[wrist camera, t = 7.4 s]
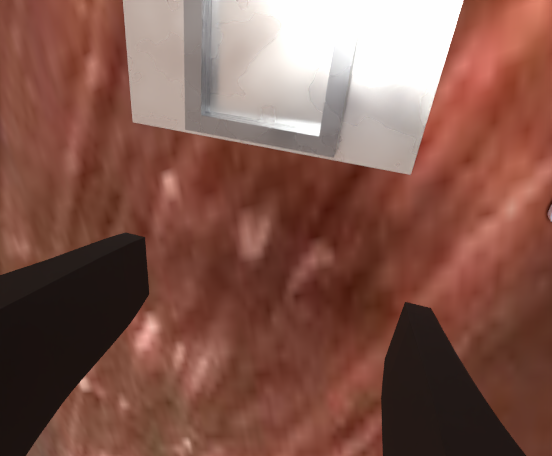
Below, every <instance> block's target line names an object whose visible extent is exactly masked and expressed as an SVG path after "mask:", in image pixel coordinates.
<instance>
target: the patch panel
mask: <svg viewBox="0 0 552 456" xmlns="http://www.w3.org/2000/svg"><path fill="white" fill-rule="evenodd" d="M462 3H463V0H123V8H124V20H125V32H126V45H127V57H128V70H129V82H130V95H131V107H132V119H133V122H135V123H140V124H145V125H150V126H156V127H161V128H166V129H172V130H177V131H182V132H187V133H193V134H198V135H203V136H208V137H214V138H219V139H224V140H230V141H235V142H240V143H245V144H251V145H256V146H261V147H267V148H272V149H277V150H282V151H288V152H293V153H298V154H303V155H309V156H314V157H319V158H325V159H330V160H335V161H340V162H346V163H351V164H356V165H362V166H367V167H372V168H377V169H383V170H388V171H393V172H399V173H404V174H409V175H411V173H412V169H413V166H414V163H415V159H416V156H417V153H418V149H419V146H420V143H421V139H422V136H423V133H424V129H425V126H426V123H427V119H428V116H429V113H430V109H431V106H432V103H433V99H434V96H435V93H436V89H437V86H438V83H439V79H440V76H441V73H442V69H443V66H444V63H445V59H446V56H447V53H448V49H449V46H450V43H451V39H452V36H453V33H454V29H455V26H456V23H457V19H458V16H459V13H460V9H461V6H462Z"/></svg>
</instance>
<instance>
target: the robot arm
mask: <svg viewBox="0 0 552 456" xmlns="http://www.w3.org/2000/svg"><path fill="white" fill-rule="evenodd" d="M548 217H549V219H550V221H551V222H552V205H551V207H550V209H549V211H548ZM148 295H149V285H148V272H147V259H146V245H145V237H141V236H137V235H133V234H129V233H123V234H119V235H116V236H112V237H109V238H106V239H104V240H101V241H98V242H95V243H92V244H90V245H87V246H84V247H81V248H79V249H76V250H73V251H70V252H68V253H65V254H62V255H59V256H56V257H54V258H51V259H48V260H45V261H42V262H39V263H36V264H33V265H30V266H27V267H24V268H21V269H18V270H15V271H12V272H9V273H6V274H3V275H0V456H26V454H27V453H28V451H29V450H30V449H31V447H32V446H33V444H34V443H35V441H36V440H37V438H38V437H39V435H40V434H41V432H42V431H43V430H44V428H45V427H46V425H47V424H48V423H49V421H50V420H51V418H52V417H53V416H54V414H55V413H56V411H57V410H58V409H59V407H60V406H61V404H62V403H63V402H64V401H65V399H66V398H67V397H68V396H69V394H70V393H71V392H72V391H73V389H74V388H75V387H76V386H77V385H78V383H79V382H80V381H81V380H82V379H83V378H84V376H85V375H86V374H87V373H88V372H89V371H90V370H91V368H92V367H93V366H94V365H95V364H96V363H97V362H98V360H99V359H100V358H101V357H102V356H103V355H104V353H105V352H106V351H107V350H108V349H109V348H110V347H111V345H112V344H113V343H114V342H115V341H116V340H117V338H118V337H119V336H120V335H121V334H122V333H123V331H124V330H125V329H126V328H127V327H128V325H129V324H130V323H131V321H132V320H133V318H134V317H135V316H136V314H137V313H138V311H139V310H140V308H141V306H142V305H143V303H144V302H145V300H146V298H147V297H148ZM381 403H382V441H383V456H526V455H525V454H524V452H523V451H522V450H521V448H520V447H519V446H518V445H517V443H516V442H515V441H514V439H513V438H512V437H511V435H510V434H509V433H508V431H507V430H506V429H505V427H504V426H503V425H502V423H501V422H500V420H499V419H498V418H497V416H496V415H495V413H494V412H493V410H492V409H491V407H490V406H489V405H488V403H487V402H486V400H485V399H484V397H483V396H482V394H481V393H480V391H479V390H478V388H477V386H476V385H475V383H474V382H473V380H472V378H471V377H470V375H469V374H468V372H467V370H466V369H465V367H464V365H463V364H462V362H461V361H460V359H459V357H458V355H457V354H456V352H455V350H454V349H453V347H452V345H451V343H450V342H449V340H448V338H447V336H446V335H445V333H444V331H443V329H442V327H441V325H440V324H439V322H438V320H437V318H436V316H435V315H434V313H433V311H432V310H431V308H428V307H424V306H420V305H416V304H412V303H408V302H405V304H404V307H403V309H402V312H401V315H400V318H399V321H398V323H397V326H396V329H395V332H394V335H393V338H392V340H391V343H390V346H389V349H388V352H387V354H386V357H385V362H384V373H383V384H382V396H381Z"/></svg>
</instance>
